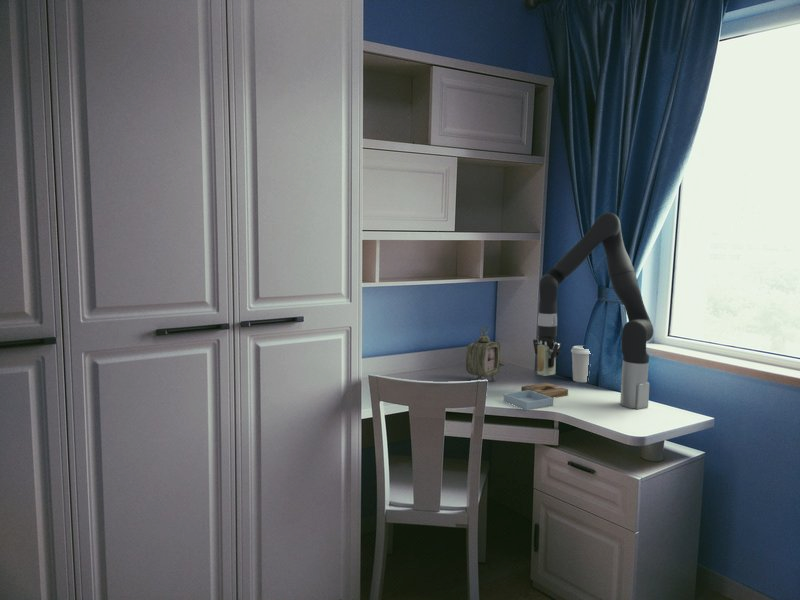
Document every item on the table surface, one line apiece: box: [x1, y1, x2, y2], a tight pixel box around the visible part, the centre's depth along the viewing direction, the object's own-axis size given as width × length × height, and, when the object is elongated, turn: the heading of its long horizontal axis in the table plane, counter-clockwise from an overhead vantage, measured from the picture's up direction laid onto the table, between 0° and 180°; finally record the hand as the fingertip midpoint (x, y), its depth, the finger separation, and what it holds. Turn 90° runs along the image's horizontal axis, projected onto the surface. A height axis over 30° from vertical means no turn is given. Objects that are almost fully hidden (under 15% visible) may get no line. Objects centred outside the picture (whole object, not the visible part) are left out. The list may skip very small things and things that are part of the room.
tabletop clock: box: [465, 324, 501, 381], centre depth 269 cm, size 14×9×25 cm, turn 141°
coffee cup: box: [570, 345, 591, 383], centre depth 276 cm, size 10×10×15 cm
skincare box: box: [536, 345, 557, 377], centre depth 251 cm, size 6×4×12 cm
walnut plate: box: [520, 382, 569, 399], centre depth 253 cm, size 12×14×2 cm
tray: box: [502, 390, 554, 411], centre depth 238 cm, size 13×13×3 cm
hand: (546, 366), depth 251 cm, fingers closed on skincare box, 4 cm apart
